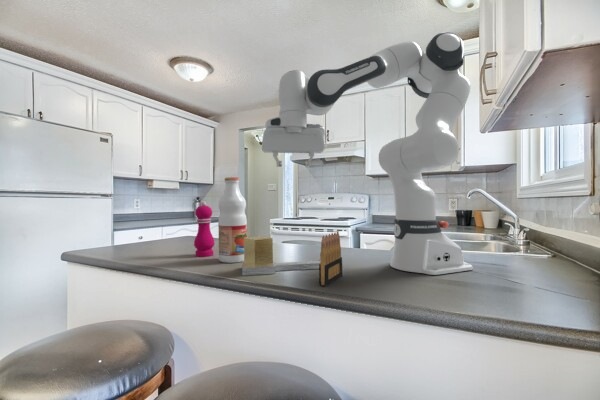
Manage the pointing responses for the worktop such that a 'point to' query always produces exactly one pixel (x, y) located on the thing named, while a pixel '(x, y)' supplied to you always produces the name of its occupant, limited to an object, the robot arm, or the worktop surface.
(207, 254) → the pepper mill
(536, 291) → the worktop surface
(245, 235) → the fruit juice
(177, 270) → the worktop surface
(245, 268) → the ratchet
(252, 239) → the tan sponge block
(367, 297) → the worktop surface
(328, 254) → the ammunition clip
